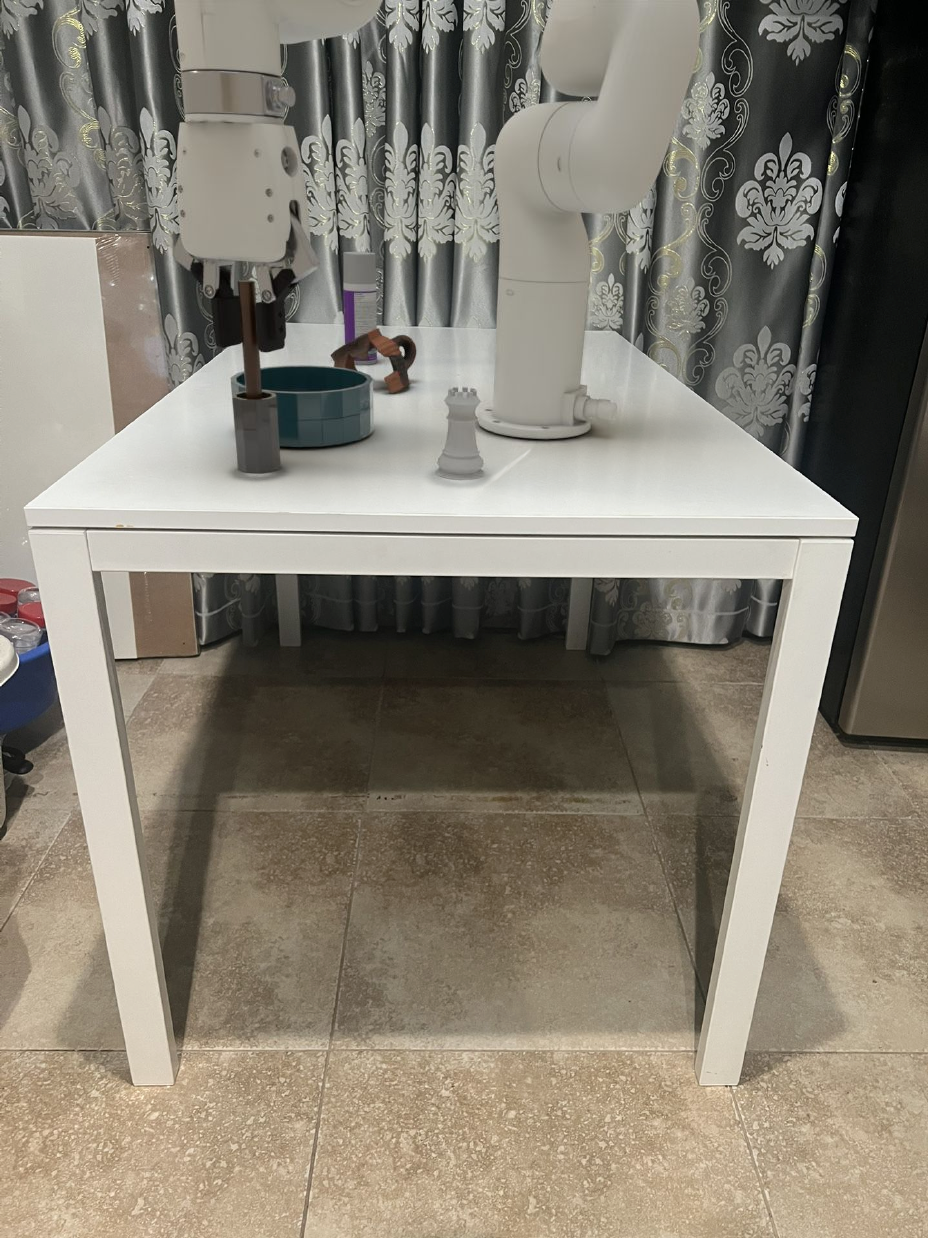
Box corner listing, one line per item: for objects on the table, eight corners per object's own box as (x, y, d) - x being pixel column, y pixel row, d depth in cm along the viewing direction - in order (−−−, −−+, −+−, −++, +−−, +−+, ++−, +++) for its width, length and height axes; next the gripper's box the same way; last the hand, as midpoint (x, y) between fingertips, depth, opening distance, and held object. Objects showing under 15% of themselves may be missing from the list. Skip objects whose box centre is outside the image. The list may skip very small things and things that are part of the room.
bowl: (395, 429, 98) (395, 373, 96) (331, 462, 87) (328, 399, 84) (283, 414, 103) (280, 360, 100) (206, 443, 91) (201, 383, 89)
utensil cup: (289, 469, 84) (284, 393, 81) (265, 480, 81) (259, 401, 78) (254, 464, 85) (248, 388, 82) (229, 475, 82) (222, 397, 79)
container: (342, 359, 135) (339, 251, 129) (372, 358, 137) (370, 251, 130) (349, 365, 131) (347, 253, 125) (380, 364, 133) (379, 254, 126)
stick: (270, 465, 83) (258, 280, 76) (261, 469, 82) (248, 282, 75) (257, 463, 83) (243, 279, 77) (248, 467, 82) (234, 280, 75)
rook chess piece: (447, 486, 81) (449, 396, 77) (428, 472, 84) (429, 385, 81) (492, 482, 82) (496, 393, 79) (472, 468, 86) (475, 383, 82)
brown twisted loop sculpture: (380, 402, 112) (347, 340, 110) (342, 421, 120) (311, 364, 118) (444, 365, 119) (414, 307, 117) (404, 386, 126) (375, 331, 124)
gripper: (351, 108, 71) (356, 350, 79) (176, 107, 76) (197, 333, 84) (301, 99, 64) (312, 363, 72) (114, 99, 70) (143, 345, 78)
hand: (250, 345), depth 78 cm, fingers open, 3 cm apart
